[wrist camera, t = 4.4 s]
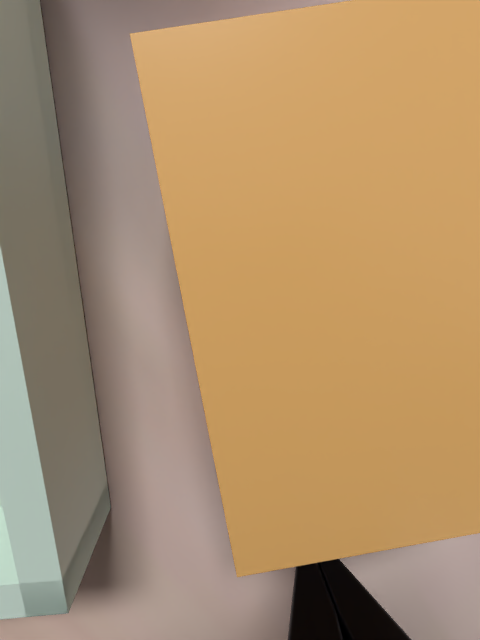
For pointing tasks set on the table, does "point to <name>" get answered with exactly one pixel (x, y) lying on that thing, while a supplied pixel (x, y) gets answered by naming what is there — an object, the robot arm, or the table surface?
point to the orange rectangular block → (328, 266)
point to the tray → (41, 347)
